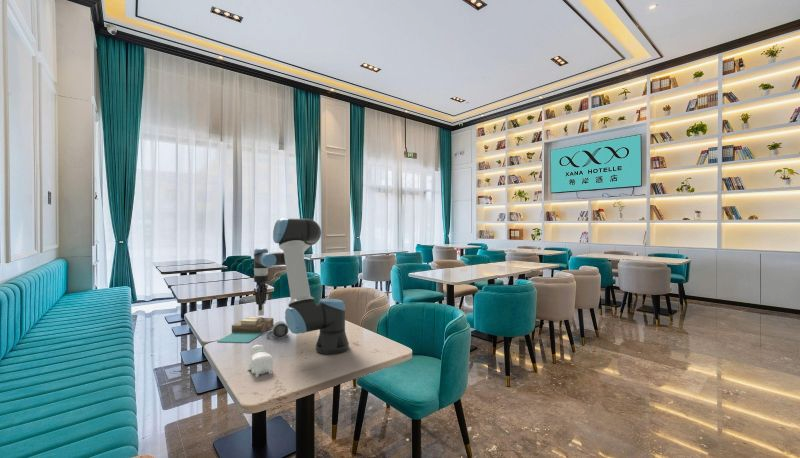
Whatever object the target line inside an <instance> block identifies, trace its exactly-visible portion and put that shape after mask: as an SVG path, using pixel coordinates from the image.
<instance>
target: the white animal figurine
mask: <svg viewBox="0 0 800 458" xmlns="http://www.w3.org/2000/svg"><path fill="white" fill-rule="evenodd" d="M250 351H251V352H250V355H251V357H250V358H251V359H250V364H249V365H248V367H247V371H249V372H250V371H251V373H252V374H255V378H259V375H264V374H265V373H268V375H272V374H273V369H274V358H273V357H272V355H271V354H270V353H268V352H266V351H265V347H264V345H263V344H256V345H253V346H252V347H251V350H250Z"/></svg>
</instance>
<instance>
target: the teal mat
mask: <svg viewBox="0 0 800 458" xmlns="http://www.w3.org/2000/svg"><path fill="white" fill-rule="evenodd" d="M262 334H263V332H262V333H242V332H233V333H232V332H231V333H230V334H228V335H226V336H225V337H223V338H221V339H218V340H217V342H216V343H234V344H235V343H237V344H238V343H239V344H250V343H251V342H252V341H254V340H255V339H257V338H258V337H260V336H261V335H262Z"/></svg>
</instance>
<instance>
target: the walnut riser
mask: <svg viewBox="0 0 800 458" xmlns="http://www.w3.org/2000/svg"><path fill="white" fill-rule="evenodd" d="M274 320H275V319H274V317H262V321H261V322H259V323H257V324H256V325H242V324H241V320H239V321H238V322H235V323H234V324H232V325H231V333H233V332H242V333H262V334H263V332H265V331H267V330H268V329H270V328H271V327H273V326H274V324H275V323H274Z"/></svg>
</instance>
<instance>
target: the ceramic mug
mask: <svg viewBox="0 0 800 458" xmlns="http://www.w3.org/2000/svg"><path fill="white" fill-rule="evenodd" d="M288 334H289V328H288V326H287V324H286V321H282V320H281V321H277V322H275V323H274V325H273V326H272V330H271V331H269V332H268V333H266V335H265V336H266V338H267V339H270V338H273V337H274V338H275V339H279V340H280V339H284V338H285V337H287V335H288Z"/></svg>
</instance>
